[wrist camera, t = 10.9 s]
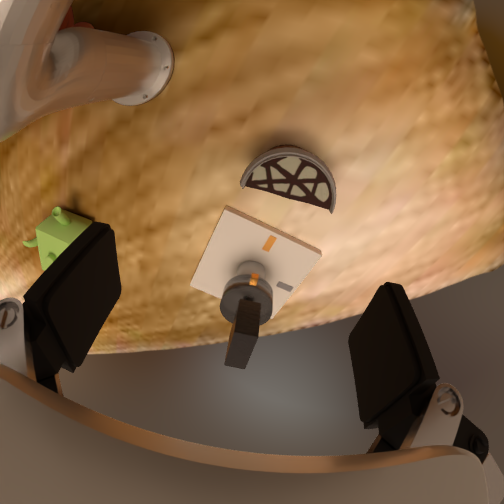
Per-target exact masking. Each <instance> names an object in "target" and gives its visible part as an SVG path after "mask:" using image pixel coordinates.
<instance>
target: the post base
mask: <svg viewBox="0 0 504 504" xmlns="http://www.w3.org/2000/svg"><path fill="white" fill-rule="evenodd" d="M321 256H322V253H321V251H320V250H318V249H316V248H314V247H312V246H310V245H308V244H306V243H304V242H302V241H300V240H298V239H296V238H294V237H292V236H290V235H288V234H286V233H284V232H282V231H279V230H277V229H275V228H273V227H271V226H269V225H267V224H265V223H263V222H261V221H259V220H256V219H254V218H252V217H250V216H248V215H246V214H244V213H241V212H239V211H237V210H235V209H233V208H231V207H229V206H226V207H225V209H224V211H223V213H222V215H221V218H220V220H219V222H218V224H217V226H216V228H215V230H214V232H213V235H212V237H211V239H210V241H209V243H208V245H207V248H206V250H205V252H204V254H203V256H202V259H201V261H200V263H199V265H198V267H197V270H196V272H195V274H194V276H193V279H192V281H191V284H190V286H192V287H194V288H197V289H199V290H201V291H204V292H206V293H208V294H211V295H213V296H215V297H218V298H220V299H222V295H223V291H224V287H225V285H226V283H227V282H228V281H229V280H230V279H231V278H233V277H235V276H238V275H243V274H249V275H252V273H254V274H259V277H260V278H262V279H264V280H265V281H267V282H268V283H269V284H270V286H271V288H272V290H273V311H272V316H271V317H270V319H272V318H273V317H274V316H275V315H276V314H277V312H278V311H279V310H280V309H281V307H282V306H283V305H284V304H285V303H286V301H287V300H288V299H289V298H290V296H291V295H292V294H293V293H294V291H295V290H296V289H297V287H298V286H299V285H300V284H301V282H302V281H303V280H304V279H305V277H306V276H307V275H308V273H309V272H310V271H311V269H312V268H313V267H314V266H315V264H316V263H317V262H318V260H319V259H320V258H321Z"/></svg>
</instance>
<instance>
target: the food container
mask: <svg viewBox="0 0 504 504" xmlns="http://www.w3.org/2000/svg"><path fill="white" fill-rule="evenodd" d="M240 185H241V187H242V189H243V188H244V187H245V186H247V187H250V188H256V189H260V190H263V191H267V192H270V193H273V194H276V195H279V196H282V197H285V198H288V199H293V200H297V201H301V202H305V203H309V204H312V205H315V206H319V207H322V208H325V209H329V211H330V212H331V214H332V213H333V211H334V208H335V203H336V186H335V181H334V178H333V176H332V174H331V172H330V170H329V168H328V167H327V166H326V165H325V164H324V162H323V161H322V160H320V159H319V158H318V157H317V156H315V155H313V154H312V153H310V152H307V151H305V150H303V149H301V148H299V147H297V146H293V145H280V146H276V147H274V148H272V149H270V150H269V151H267V152H265V153H263V154H261V155H260V156H258V157H257V158H256V159H254V160H253V161H252V162H251V163H250V164H249V166H248V167H247V168H246V170H245V172H244V173H243V175H242V178H241V181H240Z"/></svg>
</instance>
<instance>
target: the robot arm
mask: <svg viewBox="0 0 504 504" xmlns="http://www.w3.org/2000/svg"><path fill="white" fill-rule="evenodd" d="M72 2H73V0H0V142H2V141H4V140H6V139H7V138H9V137H11V136H12V135H14V134H15V133H17V132H18V131H20V130H21V129H23V128H24V127H26V126H27V125H29V124H30V123H32V122H34V121H35V120H37V119H39V118H41V117H43V116H45V115H48V114H51V113H53V112H57V111H60V110H63V109H67V108H71V107H75V106H80V105H84V104H89V103H94V102H99V101H104V100H110V99H112V100H113V101H115V102H116V103H119V104H121V105H127V106H132V105H139V104H143V103H145V102H148V101H150V100H151V99H153V98H155V97H156V96H157V95H158V94H159V93H160V92H161V91H162V90H163V89H164V88H165V86H166V85H167V83H168V81H169V80H170V77H171V75H172V71H173V67H174V57H173V52H172V49H171V47H170V45H169V43H168V42H167V41H166V40H165V39H164V38H163V37H162V36H160V35H158V34H156V33H153V32H149V31H137V32H133V33H130V34H128V35H122V34H118V33H113V32H108V31H103V30H98V29H92V28H86V27H70V28H65V29H62V30H59V28H60V26H61V24H62V22H63V20H64V18H65V16H66V14H67V12H68V10H69V8H70V6H71V4H72ZM58 30H59V31H58ZM156 38H157V40H156ZM168 66H169V68H168V69H167V67H168ZM147 95H148V98H147V97H146V96H147ZM120 294H121V282H120V275H119V268H118V261H117V253H116V244H115V234H114V231H113V230H112V229H111V227H110V225H109V224H105V223H100V222H93V223H92V224H90V225H89V226H88V227H87V228H86V229H85V230H84V231H83V232H82V233H81V234H80V235H79V236H78V237H77V238H76V239H75V240H74V241H73V242H72V243H71V244H70V245H69V246H68V247H67V248H66V249H65V250H64V251H63V252H62V253H61V254H60V255H59V256H58V257H57V258H56V259H55V260H54V261H53V263H52V264H51V265H50V266H49V267H48V268H47V269H46V270H45V271H44V272H43V274H42V275H41V276H40V277H39V278H38V279H37V280H36V282H35V283H34V284H33V285H32V286H31V287H30V289H29V290H28V291H27V292H26V294H25V295H24V296H23V297H24V299H25V302H24V303H23V304H22V303H21V302H20V301H19V300H18V299H16V298H5V299H3V300H1V301H0V504H500V502H501V501H502V499H503V497H504V476H503V474H502V473H501V471H500V469H499V467H498V466H497V464H496V463H495V461H494V459H493V457H492V456H491V454H490V453H489V454H488V450H489V449H488V448H489V445H488V439H487V437H486V436H485V434H484V433H483V432H482V431H481V430H480V429H478V428H477V427H476V426H475V425H474V424H473V423H472V422H471V421H469V420H468V419H467V418H466V417H465V416H464V415H462V413H463V400H462V397H461V395H460V393H459V392H458V390H457V389H456V388H455V387H454V386H452V385H450V384H447V383H443V384H440V385H438V386H437V387H436V384H435V382H436V381H437V380H439V379H440V378H439V375H438V372H437V369H436V366H435V363H434V360H433V358H432V355H431V352H430V349H429V347H428V344H427V342H426V339H425V337H424V334H423V332H422V329H421V327H420V324H419V322H418V319H417V317H416V315H415V313H414V310H413V308H412V306H411V303H410V301H409V299H408V297H407V295H406V293H405V290H404V288H403V287H402V285H400V284H396V283H391V282H386V283H385V284H384V285H381V286H380V287H379V288H378V290H377V291H376V293H375V295H374V297H373V298H372V300H371V302H370V303H369V305H368V307H367V308H366V310H365V311H364V313H363V315H362V316H361V318H360V320H359V321H358V323H357V324H356V326H355V327H354V329H353V330H352V332H351V333H350V336H349V340H348V343H349V348H350V354H351V360H352V366H353V372H354V379H355V385H356V392H357V399H358V407H359V415H360V420H361V421H362V422H364V429H373V428H379V434H378V436H377V437H376V439H375V440H374V442H373V443H372V445H371V446H370V448H369V449H368V451H367V452H366V454H357V455H343V456H288V455H272V454H260V453H250V452H243V451H235V450H229V449H222V448H216V447H211V446H205V445H201V444H196V443H192V442H187V441H183V440H179V439H175V438H171V437H168V436H164V435H161V434H157V433H154V432H150V431H147V430H144V429H141V428H138V427H134V426H131V425H129V424H126V423H123V422H121V421H118V420H115V419H113V418H110V417H108V416H105V415H103V414H100V413H98V412H96V411H93V410H91V409H88V408H86V407H84V406H82V405H80V404H78V403H75V402H74V401H71V400H69V399H67V398H65V397H64V395H63V391H62V387H61V383H60V379H59V374H58V372H59V370H60V368H61V367H62V368H64V369H66V370H68V371H70V372H72V373H74V371H75V369H76V367H79V366H81V364H82V363H83V361H84V359H85V357H86V355H87V353H88V351H89V349H90V348H91V346H92V344H93V342H94V340H95V338H96V337H97V335H98V333H99V331H100V329H101V328H102V326H103V324H104V322H105V321H106V319H107V317H108V315H109V314H110V312H111V310H112V309H113V307H114V305H115V304H116V302H117V300H118V299H119V297H120Z"/></svg>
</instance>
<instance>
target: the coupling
mask: <svg viewBox="0 0 504 504" xmlns="http://www.w3.org/2000/svg"><path fill="white" fill-rule="evenodd" d="M220 311H221V313H222V315H223V316H224V317H225V318H226V319H227V320H228V321H229V322H231V323H233V325H232V328H231V332H230V336H229V342H228V347H227V353H226V358H225V365H226V366H231V367H236V368H241V369H245V368H246V365H247V363H248V360H249V358H250V356H251V353H252V351H253V348H254V346H255V344H256V341H257V339H258V334H259V326H260V325H262V324H264V323H266V322H267V321H268V320H269V319H270V317H271V316H272V311H273V290H272V288H271V286H270V284H269V283H268V282H267V281H265V280H264V279H262V278H260V277H259V274H254V273H252V275H249V274H243V275H238V276H235V277H233V278H231V279H230V280H229V281H228V282H227V283H226V285H225V287H224V291H223V295H222V299H221V303H220Z"/></svg>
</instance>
